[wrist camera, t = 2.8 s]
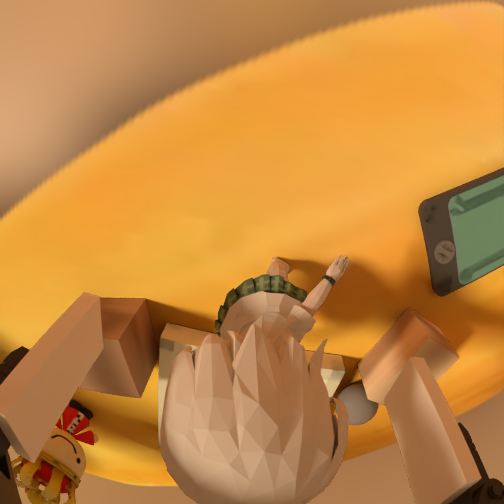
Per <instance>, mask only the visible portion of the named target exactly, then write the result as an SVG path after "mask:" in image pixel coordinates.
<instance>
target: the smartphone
mask: <svg viewBox="0 0 504 504" xmlns="http://www.w3.org/2000/svg"><path fill="white" fill-rule="evenodd" d="M418 213H419V217H420V221H421V226H422V231H423V235H424V240H425V245H426V251H427V256H428V262H429V268H430V274H431V281H432V288H433V290H434V291H435V292H436V294H437V295H439V296H445V295H447V294H449V293H451V292H453V291H455V290H457V289H459V288H461V287H463V286H465V285H467V284H469V283H471V282H473V281H475V280H477V279H479V278H481V277H483V276H485V275H487V274H488V273H490V272H492V271H494V270H496V269H498V268H499V267H501V266H503V265H504V168H501V169H499V170H497V171H494V172H492V173H490V174H487V175H485V176H482V177H480V178H478V179H475V180H473V181H470V182H468V183H465V184H463V185H461V186H458V187H456V188H453V189H451V190H448V191H446V192H443V193H441V194H439V195H436V196H434V197H431V198H429V199H426V200H424V201H423V202H422V203H421V204H420V206H419V211H418Z"/></svg>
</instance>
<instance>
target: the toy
mask: <svg viewBox="0 0 504 504" xmlns="http://www.w3.org/2000/svg"><path fill="white" fill-rule="evenodd" d="M92 417H93V414H92V413H91V412H90V411H89V410H88V409H86V408H82V406H81V405H80V404H79V403H77V402H76V401H73V400H70V402H69V407H66V408H65V410H64V412H63V430H62V425H61V419H60V418H59V420H58V422H57V424H56V426H57V427H58V428H59V429H58V428H54V429H53V430H52V432H51V434H50V436H49V437H48V439H47V441H46V443H45V444H44V446H43V448H42V450H41V452H40V453H39V455H38V457H37V459H36V461H35V463H33V462H31V461H29V460H27V459H26V458H24V457H22V456H19V458H17V459H15V460H13V461H11V465H12V470H13V474H14V478H15V482H16V485H17V486H20V487H23V488H25V492H26V493H27V496H28V499H29V500H30V502H31V503H32V504H59V502H60V493H68V495H69V499H68V501H67V502H66V503H64V504H76V499H75V489H76V488H78V486H79V483H80V481H81V480H80V478H81V477H82V475H83V473H84V471H85V467H86V459H85V454H84V452H83V449H82V447H81V446H80V444H79V443H78V441H81V442H84V443H87V444H90V445H94V443H96V442H97V441H98V436H97V435H96V434H93V433H92V431H87V432H84V433H81V434H78V435H75V434H77V433H79V432H80V431H82V430H83V429H85V428H87V427H88V426H89V424H90V423H89V421H88V420H90V419H91V418H92ZM77 440H78V441H77ZM18 461H21V464H19V465H17V466H15V467H14V468H13V466H14V464H15V463H16V462H18ZM17 473H20V480H21V481H22V482H21V481H18V480H17V479H16V477H17V475H16V474H17ZM40 484H42V485H43V486H45V490H43V491H41V490H40V489H38V487H39V485H40ZM46 499H48V501H47V500H46Z"/></svg>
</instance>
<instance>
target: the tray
mask: <svg viewBox="0 0 504 504" xmlns="http://www.w3.org/2000/svg"><path fill="white" fill-rule="evenodd" d="M209 334H212V335H214V336H216V337H218V335H217V334H214V333H210V332H205V331H201V330H196V329H192V328H188V327H183V326H179V325H175V324H171V323H167V324H166V326H165V328H164V330H163V332H162V334H161V337H160V351H159V383H158V438H159V448H161V434H160V429H161V421H162V413H163V406H164V399H165V392H166V387H167V383H168V379H169V375H170V371H171V367H172V364H173V360H174V359H175V358H176V356H177V355H178V354H179V353H180V352H181V351H182V350H183V349H184V348H185V347H186V346H191V347H192V350H191V351H193V350H195V348H196V347H199V346H201V345H202V343H203V341H204V338H205V336H207V335H209ZM218 338H219V337H218ZM314 353H315V352H313V351H306V350H305V354H306V360H307V365H308V364H309V362H310V358H311V357H312V355H313V354H314ZM192 354H193V352H192ZM192 354H191V356H192ZM345 372H346V371H345V367H344V363H343V360H342V356H341V355H334V354H327V353H323V360H322V367H321V376H322V378H323V381H324V383H325V386H326V388H327V391H328V395H329V397H332V396H333V394H334V392H335V391H336V389H337V387H338V385H339V383H340V381H341V379H342V378H343V376H344V374H345ZM329 401H330V400H329Z"/></svg>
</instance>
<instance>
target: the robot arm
mask: <svg viewBox="0 0 504 504" xmlns="http://www.w3.org/2000/svg"><path fill="white" fill-rule="evenodd" d="M103 348H104V347H103V336H102V323H101V308H100V297H99V296H96V295H92V294H89V293H86V292H84V293H83V294H82V295H81V296H80V297H79V298H78V299H77V300H76V301H75V302H74V303H73V304H72V305H71V306H70V307H69V308H68V309H67V310H66V311H65V312H64V313H63V314H62V315H61V317H60V318H59V319H58V320H57V321H56V322H55V323H54V324H53V325H52V326H51V327H50V328H49V329H48V331H47V332H46V333H45V334H44V335H43V336H42V337H41V338H40V339H39V341H38V342H37V343H36V344H35V345H34V346H33V347H32V348H31V350H29V349H27V348H25V347H23V346H22V347H20V348H18V349H16V350H14V351H13V352H11V353H10V354H9V355H8V356H7V357H6V358H5V360H4V361H3V363H1V364H0V504H22V503H21V499H20V496H19V493H18V489H17V485H16V482H15V478H14V474H13V470H12V465H11V461H10V456H9V454H8V451H7V450H8V448H9V447H10V445H11V446H12V447H13V449H14V450H15V451H16V453H17V454H19V455H20V456H22V457H24V458H26V459H27V460H29V461H31V462H33V463H35V461H36V459H37V457H38V455H39V453H40V452H41V450H42V448H43V446H44V444H45V443H46V441H47V439H48V437H49V436H50V434H51V432H52V430H53V429H54V427H55V425H56V424H57V422H58V420H59V418H60V417H61V415H62V413H63V412H64V410H65V408H66V407H67V405H68V403H69V402H70V400H71V399H72V397H73V395H74V394H75V392H76V390H77V389H78V387H79V386H80V384H81V382H82V381H83V379H84V378H85V376H86V375H87V373H88V371H89V370H90V368H91V367H92V365H93V364H94V362H95V361H96V359H97V358H98V356H99V355H100V353H101V351H102V350H103ZM384 402H385V405H386V408H387V411H388V414H389V417H390V420H391V423H392V426H393V430H394V433H395V436H396V439H397V442H398V446H399V449H400V452H401V455H402V459H403V462H404V466H405V469H406V472H407V476H408V480H409V483H410V487H411V491H412V495H413V498H414V502H415V504H504V485H503V484H502V483H501V482H500V481H499V480H497V479H494V478H493V479H489V477H488V475H487V473H486V470H485V468H484V466H483V463H482V461H481V459H480V456H479V454H478V452H477V451H476V450H475V449H476V448H475V445H474V444H473V443H472V439H471V437H470V435H469V433H468V431H467V430H466V429H465V428H464V426H463V425H462V424H461V423H457V421H456V420H455V417H454V415H453V413H452V411H451V409H450V407H449V405H448V403H447V401H446V399H445V397H444V395H443V393H442V391H441V389H440V387H439V386H438V384H437V382H436V380H435V378H434V376H433V374H432V372H431V371H430V369H429V367H428V365H427V363H426V362H425V360H424V358H419V357H410V358H409V360H408V361H407V363H406V365H405V367H404V368H403V370H402V372H401V373H400V375H399V376H398V378H397V380H396V381H395V383H394V384H393V386H392V388H391V389H390V391H389V392H388V394H387V395H386V397H385V398H384Z"/></svg>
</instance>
